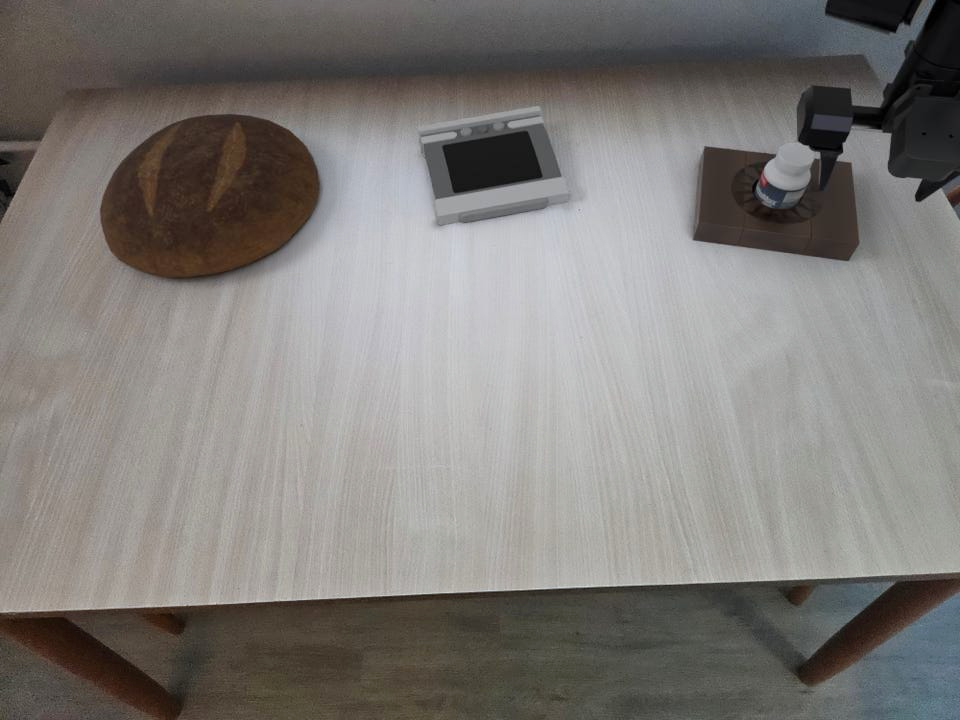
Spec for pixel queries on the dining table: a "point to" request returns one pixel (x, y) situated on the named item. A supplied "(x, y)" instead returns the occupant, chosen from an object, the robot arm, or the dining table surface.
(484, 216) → the grey boxy piece
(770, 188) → the pill bottle
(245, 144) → the bread
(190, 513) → the dining table surface
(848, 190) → the socket pad
